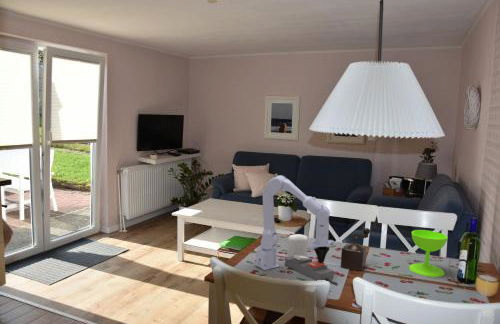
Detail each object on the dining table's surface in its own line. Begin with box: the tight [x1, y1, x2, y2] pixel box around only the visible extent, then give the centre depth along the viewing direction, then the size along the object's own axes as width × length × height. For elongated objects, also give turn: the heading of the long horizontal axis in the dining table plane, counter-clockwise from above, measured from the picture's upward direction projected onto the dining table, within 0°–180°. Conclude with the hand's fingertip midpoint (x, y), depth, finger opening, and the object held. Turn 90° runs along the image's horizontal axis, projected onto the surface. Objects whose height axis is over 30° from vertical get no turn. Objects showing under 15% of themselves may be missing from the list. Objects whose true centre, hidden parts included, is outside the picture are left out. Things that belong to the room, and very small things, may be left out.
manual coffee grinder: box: [340, 227, 371, 272], centre depth 199 cm, size 16×11×18 cm
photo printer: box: [286, 233, 309, 258], centre depth 207 cm, size 10×4×12 cm, turn 98°
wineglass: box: [408, 229, 448, 278], centre depth 195 cm, size 16×16×18 cm
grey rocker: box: [294, 255, 310, 261], centre depth 192 cm, size 6×4×1 cm, turn 125°
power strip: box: [284, 255, 339, 286], centre depth 186 cm, size 8×30×4 cm, turn 35°
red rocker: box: [308, 260, 325, 268], centre depth 184 cm, size 6×4×1 cm, turn 125°
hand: (320, 262), depth 186 cm, fingers closed, pressing on red rocker
